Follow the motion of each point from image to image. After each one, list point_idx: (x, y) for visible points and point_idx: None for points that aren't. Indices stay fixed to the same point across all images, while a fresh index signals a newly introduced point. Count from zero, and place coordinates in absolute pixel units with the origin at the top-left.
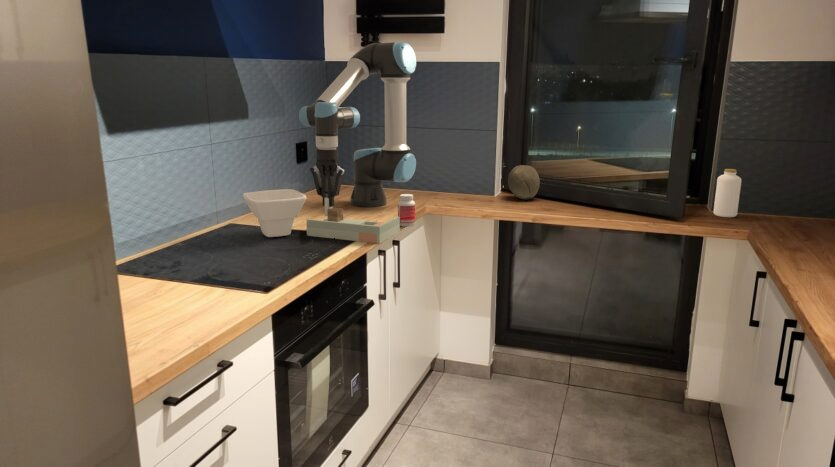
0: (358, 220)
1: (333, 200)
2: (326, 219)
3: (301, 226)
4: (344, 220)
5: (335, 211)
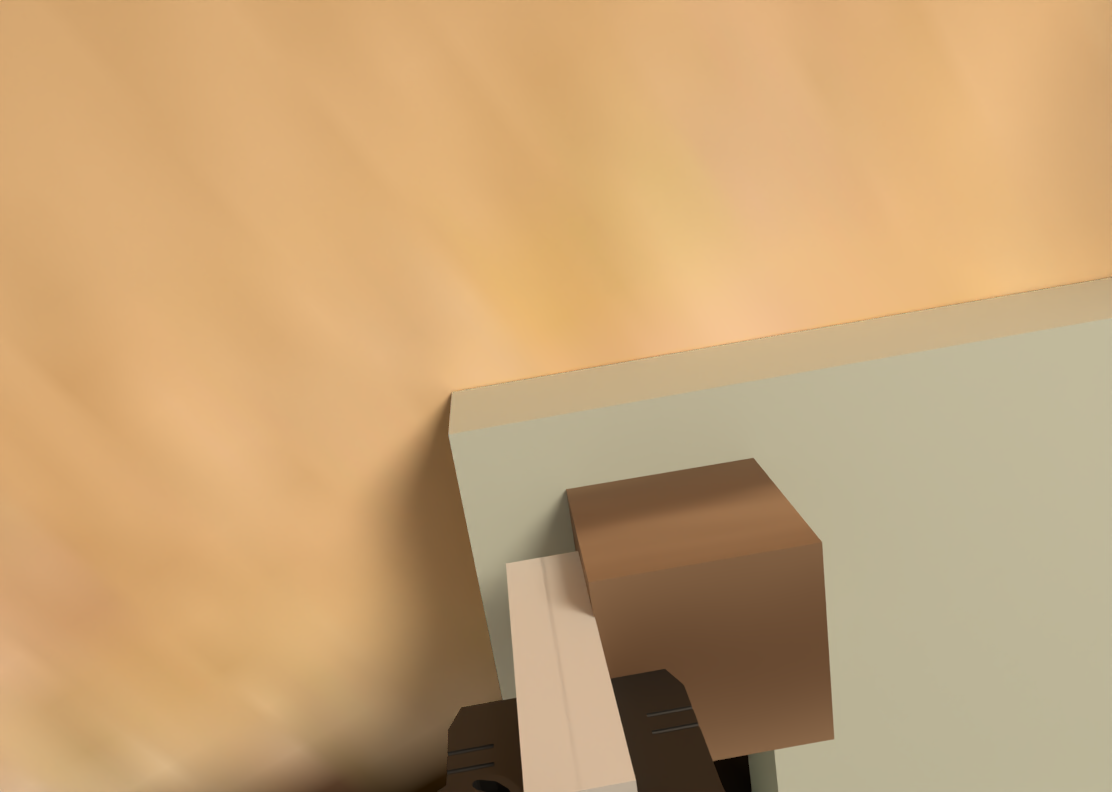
0: (1003, 370)
1: (709, 770)
2: (502, 587)
3: (138, 652)
4: (800, 491)
5: (786, 735)
